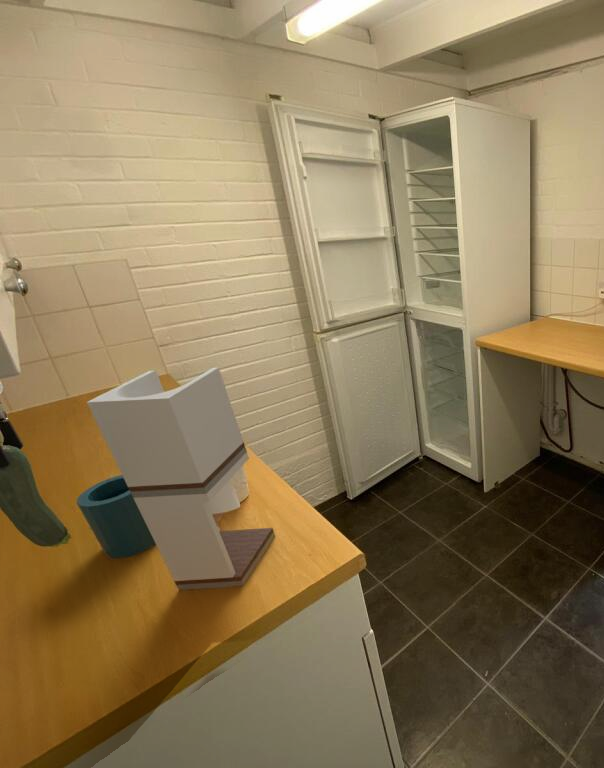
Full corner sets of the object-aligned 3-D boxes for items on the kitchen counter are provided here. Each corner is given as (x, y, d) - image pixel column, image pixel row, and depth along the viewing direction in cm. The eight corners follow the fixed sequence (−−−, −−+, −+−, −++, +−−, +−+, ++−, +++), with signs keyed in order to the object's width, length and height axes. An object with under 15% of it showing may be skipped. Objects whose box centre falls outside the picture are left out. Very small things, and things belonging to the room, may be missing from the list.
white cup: (238, 483, 96) (225, 446, 92) (260, 492, 93) (247, 454, 89) (202, 504, 90) (187, 465, 86) (225, 514, 87) (209, 474, 83)
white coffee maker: (243, 585, 70) (168, 398, 56) (178, 590, 70) (86, 402, 56) (275, 536, 80) (218, 367, 66) (218, 539, 80) (149, 370, 66)
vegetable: (46, 562, 55) (-37, 432, 47) (21, 558, 56) (-64, 429, 48) (83, 538, 59) (13, 414, 51) (59, 534, 60) (-14, 411, 52)
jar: (96, 565, 75) (66, 513, 70) (116, 531, 83) (90, 481, 78) (162, 547, 79) (137, 496, 74) (174, 516, 87) (153, 467, 82)
